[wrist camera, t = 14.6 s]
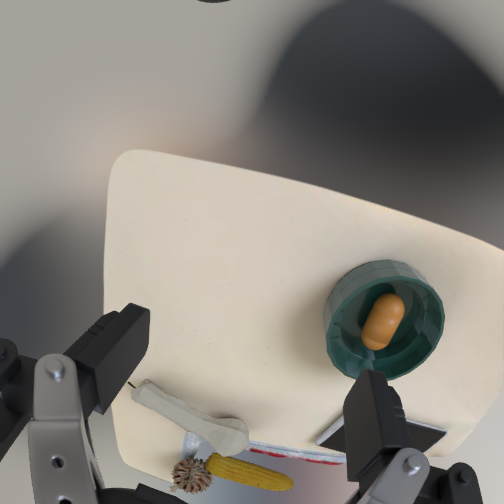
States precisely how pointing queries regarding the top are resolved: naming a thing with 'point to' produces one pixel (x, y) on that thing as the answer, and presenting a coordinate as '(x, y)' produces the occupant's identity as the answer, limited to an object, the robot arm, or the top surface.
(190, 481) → the pine cone
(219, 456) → the food
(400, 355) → the green round bowl
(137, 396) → the faceted club
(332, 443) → the smartphone
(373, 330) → the bread roll
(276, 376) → the top surface
